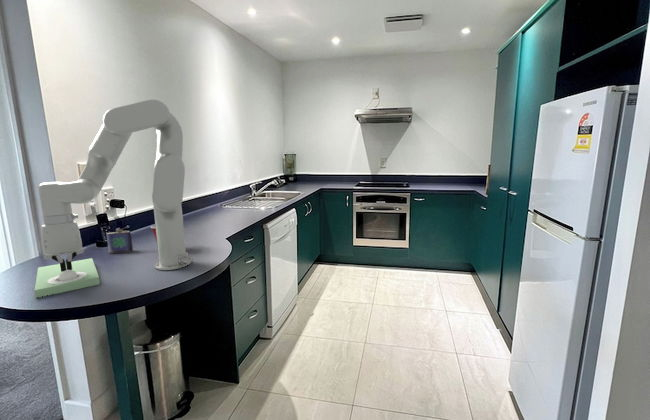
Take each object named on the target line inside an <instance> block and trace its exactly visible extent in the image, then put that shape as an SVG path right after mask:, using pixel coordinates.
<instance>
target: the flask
mask: <svg viewBox="0 0 650 420" xmlns="http://www.w3.org/2000/svg"><path fill="white" fill-rule="evenodd" d="M105 235H106V242H107V247H108V248H107V250H108V253H109V254H120V253H129V252H130V253H131V252H133V251H134V249H133V242H132V234H131V231H130V230H121V227H118V228H116V229H115V232H114V231H113V232H107V233H106V234H105Z"/></svg>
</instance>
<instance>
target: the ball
mask: <svg viewBox="0 0 650 420" xmlns="http://www.w3.org/2000/svg"><path fill="white" fill-rule="evenodd" d="M77 277H78V275H77V273H76V272H75V271H73V270H66V271H63V272H62V273H61V274H60V275H59V278H58V279H59V281H67V280H72V279H75V278H77Z"/></svg>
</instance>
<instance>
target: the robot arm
mask: <svg viewBox="0 0 650 420" xmlns="http://www.w3.org/2000/svg"><path fill="white" fill-rule="evenodd" d="M169 110H170V109H169V107H168V106H167V105H166V104H165V103H164V102H163V101H160V100H158V99H147V100H141V101H138V102H134V103H130V104H126V105H122V106H118V107H117V106H116V107H114V108H111V109H108V110H107V111H105V113H104V115H103V116H102V117H103V118H102V122H103V124H101V127H100V129H99V131H98V133H97V134H96V136H95V138H94V139H93V142H92V143H91V145H89V148H88V153H87V155H88V156H87V161H86V164H85V166H84V168H83V170H82V172H81V174H80V175H79V178H78V179H77V181H71V182H70V181H69V182H64V181H49V182H42V183H40V184H39V185H38V187H37V189H38V195H39V201H40V206H41V212H42V218H43V224H42V225H41V230H40V235H41V236H40V237H41V245H42V246H41V247H42V252H43V255H42V256H43V258H42V259H44V260H53V261H56V263H58V264H60V267H61V272H62V271H66V270H72V264H71V262H73V259H74V258H75V257H77V256H79V255H81V254H83V253H84V252H85V250H84V248H83V242H82V241H83V240H82V238H81V237H82V236H81V232H80V229H79V225H78V222H77V221H76V219H79V215H78V214H75V213H73V210H72V204H75V205H76V204H79V205H81V204H82V205H84V204H88V203H90V202H92V201H93V200H94V199H96V197H98V196H99V194H100V193H101V191H102V189H103V187H104V185H105V183H106V181H107V180H108V178H109V176H110V174H111V172H112V170H113V168H114V167H115V165H116V164H117V162H118V160H119V158H120V156H121V155H122V153H123V150H124V148H125V147H126V145H127V143H128V142H129V140H130V139H131V137H132V135H133V133H136V132H140V131H143V130H147V129H151V128H153V129H154V130H155V132H156V135H157V137H156V153H155V154H156V156H155V161H154V165H153V166H154V168H153V180H152V181H153V182H152V183H153V184H152V194H151V200H152V206H153V215H154V223H155V224H154V225H155V226H156V236H157V241H156V243H157V244H156V245H157V252H158V261H157V262H156V263H155V264H154V268H155V269H156V270H159V271H172V270H173V271H174V270H177V269H182V267H183V268H185V266H186V267H188V266H189V265H190V264H192V261H193V260H194V257H193V256H189V253H188V252H187V251H186V241H185V240H186V239H185V238H186V237H185V229H184V217H183V208H182V207H183V206H182V203H183V198H184V187H185V174H186V169H185V168H186V167H185V163H184V161H183V150H184V149H183V148H184V147H183V146H184V143H183V142H184V139H183V138H184V136H183V129H182V127H181V124H180V122H179V121H178V120H177V118H176V117H175V116H174V115H173V114H172V113H171V112H170V111H169ZM74 220H75V221H74ZM63 254H67V258H66V259H64V258H63V256H62V255H63ZM187 265H188V266H187ZM66 267H67V269H66Z"/></svg>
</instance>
